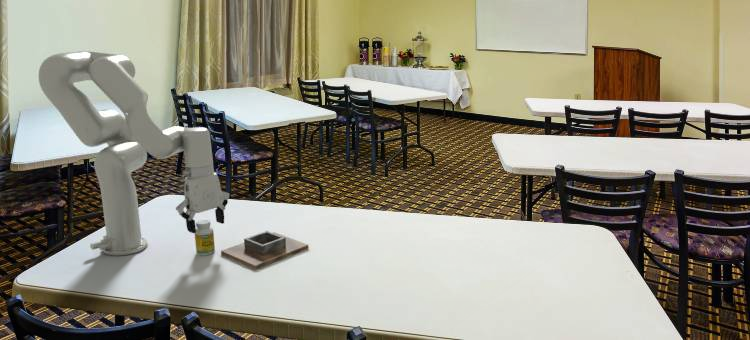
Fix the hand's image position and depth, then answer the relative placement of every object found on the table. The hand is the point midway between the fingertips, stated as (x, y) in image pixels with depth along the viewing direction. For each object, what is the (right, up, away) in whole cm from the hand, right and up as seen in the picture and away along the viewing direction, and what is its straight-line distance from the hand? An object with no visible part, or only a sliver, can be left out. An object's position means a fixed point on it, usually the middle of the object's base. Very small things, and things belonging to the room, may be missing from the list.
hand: (206, 227), depth 174 cm
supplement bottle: (-1, -8, +2) cm, 8 cm away
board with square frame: (+17, -7, +3) cm, 19 cm away
